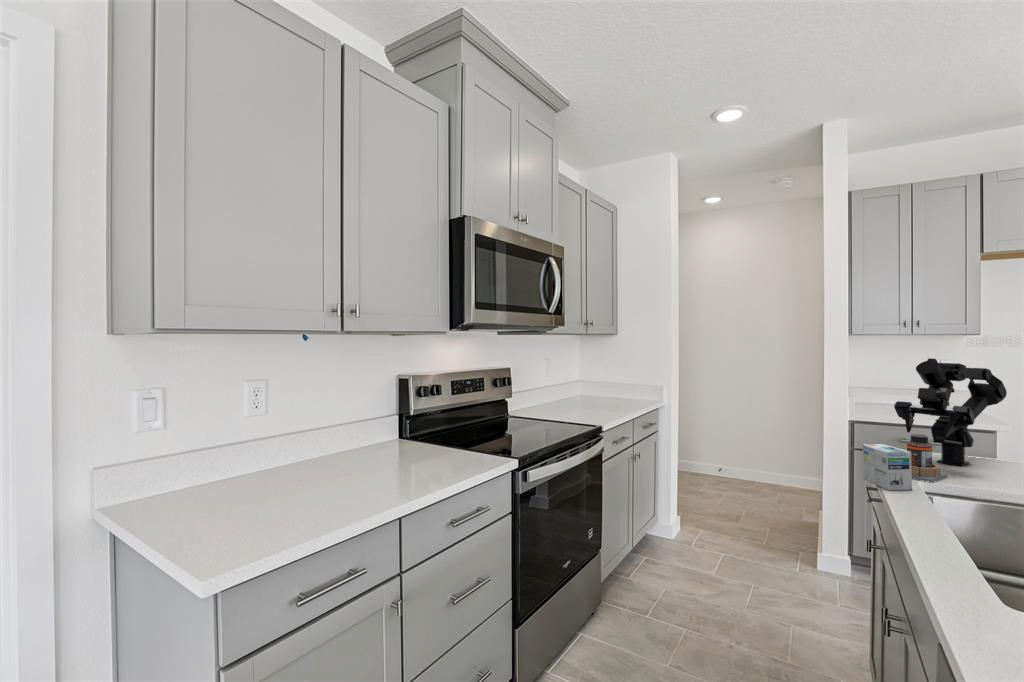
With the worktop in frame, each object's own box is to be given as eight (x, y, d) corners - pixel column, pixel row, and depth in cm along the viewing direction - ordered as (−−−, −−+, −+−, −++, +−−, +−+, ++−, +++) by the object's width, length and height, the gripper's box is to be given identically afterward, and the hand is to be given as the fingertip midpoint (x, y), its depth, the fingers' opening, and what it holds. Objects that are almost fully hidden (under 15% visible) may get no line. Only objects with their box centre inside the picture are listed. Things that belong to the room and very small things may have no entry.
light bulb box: (913, 490, 138) (912, 451, 137) (888, 491, 138) (887, 452, 138) (884, 479, 148) (884, 443, 148) (862, 479, 148) (861, 443, 148)
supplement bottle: (901, 470, 153) (901, 433, 153) (919, 469, 154) (918, 432, 153) (919, 476, 147) (919, 437, 147) (937, 474, 148) (937, 436, 148)
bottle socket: (908, 469, 157) (908, 458, 157) (947, 477, 148) (947, 465, 148) (892, 474, 152) (891, 463, 152) (931, 482, 143) (931, 470, 143)
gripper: (895, 376, 163) (882, 414, 157) (970, 380, 148) (959, 421, 142) (905, 398, 168) (892, 435, 162) (979, 403, 152) (968, 445, 146)
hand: (926, 434), depth 153 cm, fingers open, 9 cm apart
